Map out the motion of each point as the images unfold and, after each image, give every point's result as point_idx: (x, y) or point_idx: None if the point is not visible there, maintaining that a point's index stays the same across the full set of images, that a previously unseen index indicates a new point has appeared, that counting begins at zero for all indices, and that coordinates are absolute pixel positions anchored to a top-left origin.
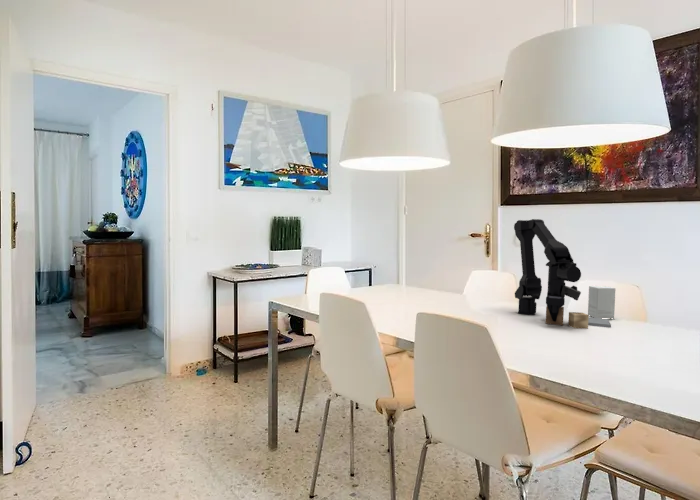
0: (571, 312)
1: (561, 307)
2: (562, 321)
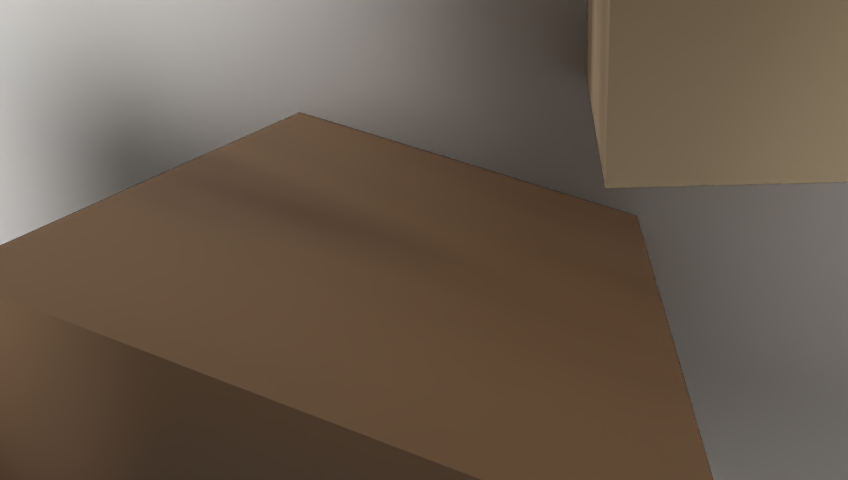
0: (704, 72)
1: (157, 430)
2: (637, 268)
